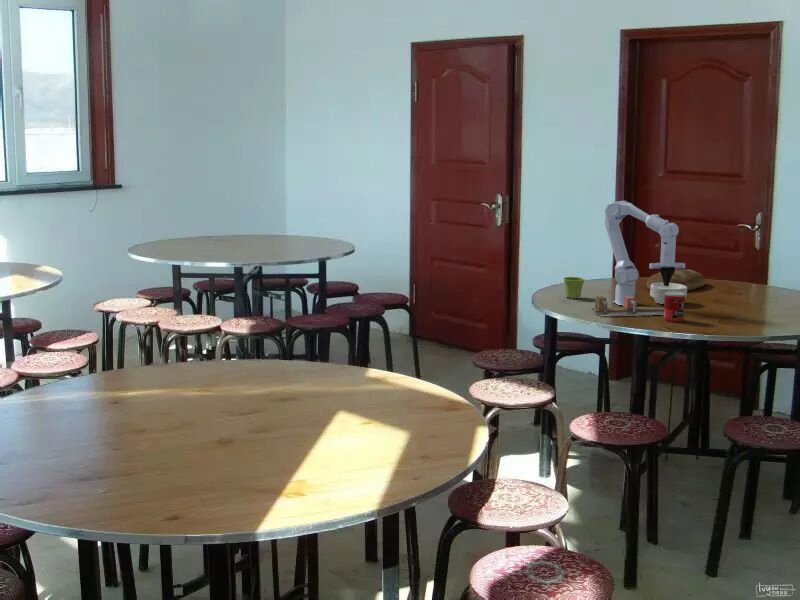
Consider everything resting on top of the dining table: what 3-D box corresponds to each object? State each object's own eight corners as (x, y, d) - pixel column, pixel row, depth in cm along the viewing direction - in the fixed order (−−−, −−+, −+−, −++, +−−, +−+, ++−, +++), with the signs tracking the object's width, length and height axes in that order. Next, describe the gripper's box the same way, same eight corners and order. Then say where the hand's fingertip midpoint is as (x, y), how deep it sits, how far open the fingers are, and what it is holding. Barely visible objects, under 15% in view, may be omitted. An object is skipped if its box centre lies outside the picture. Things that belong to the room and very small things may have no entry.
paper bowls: (690, 306, 419) (691, 288, 417) (654, 306, 418) (655, 288, 417) (680, 300, 434) (681, 282, 432) (645, 300, 433) (646, 282, 432)
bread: (716, 285, 472) (717, 268, 470) (678, 295, 445) (679, 277, 444) (673, 280, 487) (674, 263, 485) (634, 289, 460) (635, 271, 459)
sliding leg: (623, 307, 409) (623, 296, 408) (630, 307, 409) (630, 296, 408) (631, 311, 399) (631, 300, 398) (638, 311, 400) (639, 300, 399)
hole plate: (595, 314, 403) (595, 312, 402) (666, 312, 406) (667, 310, 405) (599, 317, 397) (599, 315, 396) (672, 315, 400) (672, 313, 400)
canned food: (674, 323, 385) (676, 295, 383) (659, 319, 392) (660, 292, 390) (688, 321, 389) (689, 293, 387) (672, 317, 396) (673, 290, 394)
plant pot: (582, 296, 442) (583, 276, 441) (585, 300, 433) (586, 280, 431) (561, 296, 443) (561, 276, 441) (564, 299, 433) (564, 280, 432)
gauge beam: (591, 311, 408) (592, 295, 407) (662, 310, 411) (662, 294, 410) (598, 316, 398) (599, 300, 397) (670, 315, 401) (671, 299, 400)
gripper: (654, 254, 401) (652, 287, 404) (688, 254, 403) (686, 287, 406) (648, 252, 408) (646, 284, 411) (682, 251, 410) (680, 284, 412)
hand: (666, 285), depth 409 cm, fingers closed
